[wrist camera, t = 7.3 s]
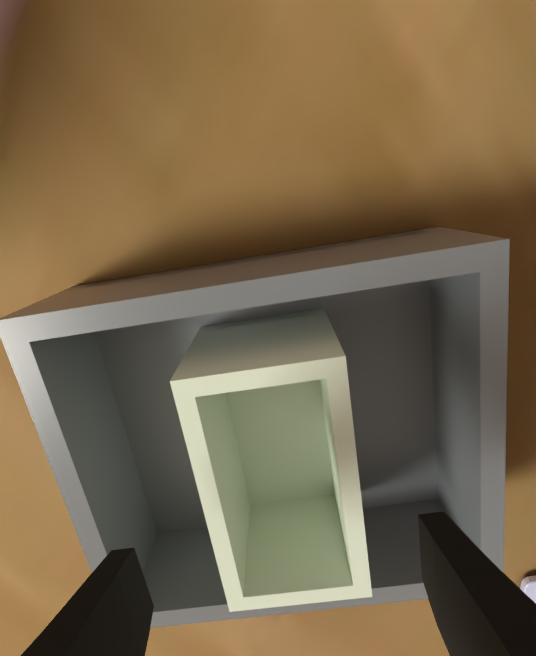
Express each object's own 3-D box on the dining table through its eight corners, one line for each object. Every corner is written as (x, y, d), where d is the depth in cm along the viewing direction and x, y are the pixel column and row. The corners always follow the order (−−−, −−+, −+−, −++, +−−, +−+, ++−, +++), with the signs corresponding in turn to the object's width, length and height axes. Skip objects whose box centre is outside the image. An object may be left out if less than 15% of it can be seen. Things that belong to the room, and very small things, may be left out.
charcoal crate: (438, 226, 16) (509, 238, 11) (447, 495, 20) (502, 590, 15) (73, 286, 17) (-6, 320, 12) (151, 531, 21) (114, 631, 16)
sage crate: (324, 308, 16) (345, 356, 11) (347, 494, 19) (372, 596, 14) (200, 327, 16) (169, 381, 11) (240, 507, 19) (229, 612, 14)
